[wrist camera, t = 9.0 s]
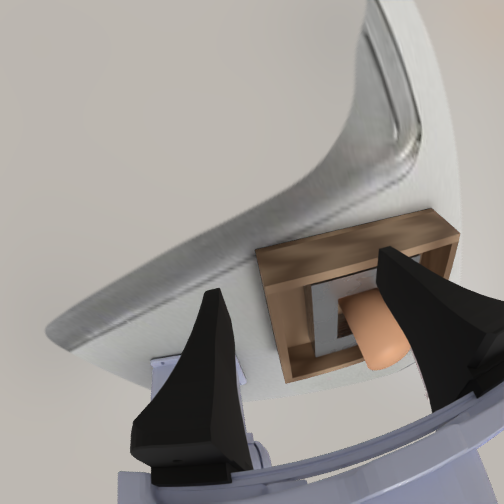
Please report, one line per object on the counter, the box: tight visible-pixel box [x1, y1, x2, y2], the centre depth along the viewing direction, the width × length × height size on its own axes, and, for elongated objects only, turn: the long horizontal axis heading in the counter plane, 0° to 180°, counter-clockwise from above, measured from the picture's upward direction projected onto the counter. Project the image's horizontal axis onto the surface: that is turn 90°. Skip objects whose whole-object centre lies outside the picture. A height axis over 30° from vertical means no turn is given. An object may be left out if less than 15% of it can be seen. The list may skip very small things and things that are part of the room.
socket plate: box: [304, 254, 420, 357], centre depth 27 cm, size 10×10×3 cm
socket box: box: [255, 208, 460, 383], centre depth 27 cm, size 17×14×4 cm
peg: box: [338, 288, 411, 370], centre depth 25 cm, size 4×4×8 cm
